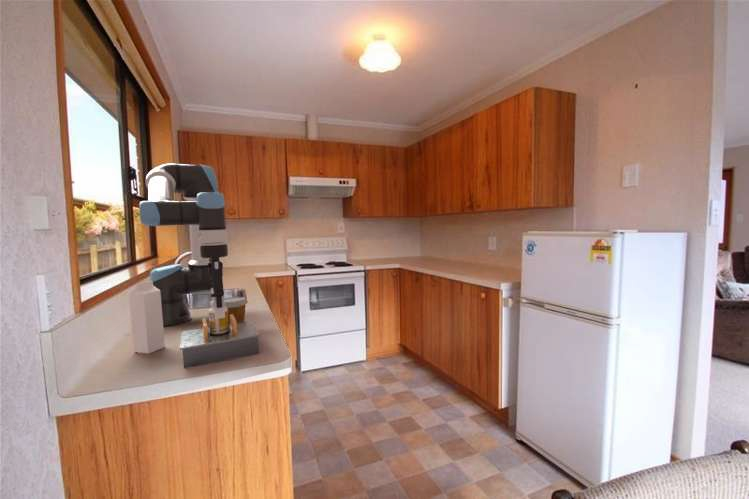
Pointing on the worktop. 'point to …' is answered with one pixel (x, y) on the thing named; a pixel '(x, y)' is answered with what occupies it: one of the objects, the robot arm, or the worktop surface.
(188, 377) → the worktop surface
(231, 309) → the disposable coffee cup
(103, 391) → the worktop surface
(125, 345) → the worktop surface
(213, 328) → the supplement bottle
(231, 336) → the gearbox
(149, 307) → the milk
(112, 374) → the worktop surface
